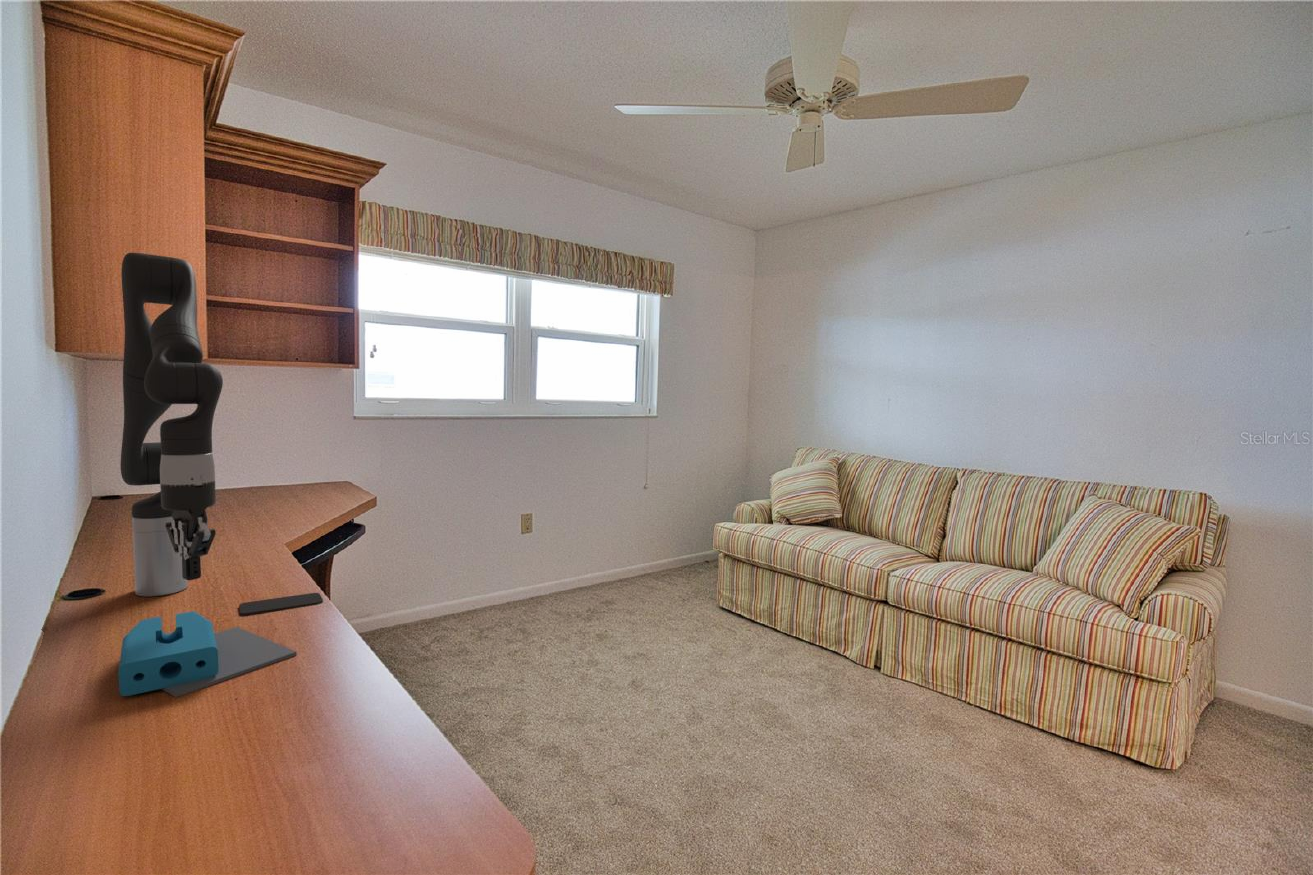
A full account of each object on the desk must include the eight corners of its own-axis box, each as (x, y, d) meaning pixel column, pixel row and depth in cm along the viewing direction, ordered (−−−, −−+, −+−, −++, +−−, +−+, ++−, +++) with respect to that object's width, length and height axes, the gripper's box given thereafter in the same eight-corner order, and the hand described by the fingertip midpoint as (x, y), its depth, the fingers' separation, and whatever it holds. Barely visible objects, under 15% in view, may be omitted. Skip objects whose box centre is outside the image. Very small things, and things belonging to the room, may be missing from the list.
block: (125, 650, 108) (119, 697, 92) (124, 622, 107) (118, 665, 92) (210, 634, 115) (218, 675, 100) (209, 608, 115) (217, 645, 99)
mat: (119, 664, 104) (119, 661, 104) (237, 629, 119) (237, 626, 119) (175, 697, 94) (175, 693, 94) (296, 654, 109) (296, 651, 109)
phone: (323, 601, 134) (240, 614, 126) (323, 605, 135) (240, 618, 126) (318, 591, 140) (238, 603, 132) (318, 595, 141) (238, 607, 132)
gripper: (144, 478, 107) (148, 577, 108) (180, 486, 100) (184, 591, 102) (194, 473, 113) (198, 567, 115) (231, 480, 107) (235, 580, 108)
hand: (191, 578), depth 108 cm, fingers closed
